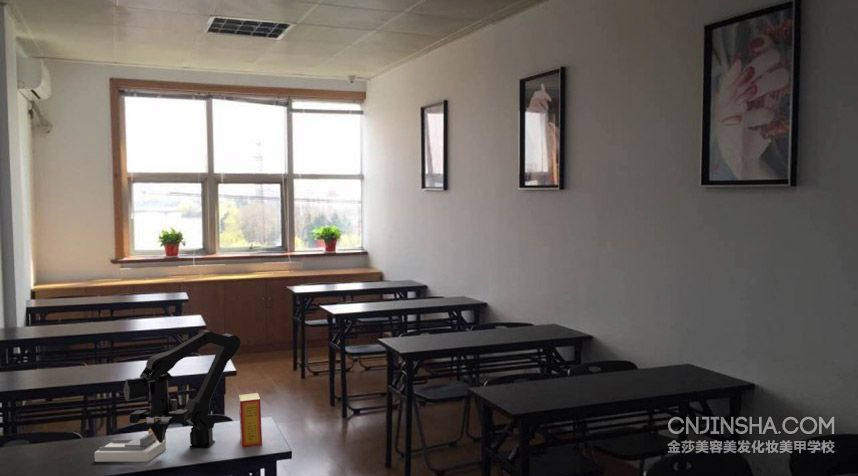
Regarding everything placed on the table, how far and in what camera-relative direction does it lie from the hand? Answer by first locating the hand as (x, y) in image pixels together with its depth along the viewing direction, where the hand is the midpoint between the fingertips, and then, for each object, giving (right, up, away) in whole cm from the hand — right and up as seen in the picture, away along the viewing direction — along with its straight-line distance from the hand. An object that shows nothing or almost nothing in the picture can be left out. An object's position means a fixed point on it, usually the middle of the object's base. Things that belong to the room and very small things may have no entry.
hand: (161, 442), depth 230 cm
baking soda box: (+27, -3, +11) cm, 29 cm away
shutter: (-7, -1, +1) cm, 8 cm away
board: (-10, -5, +1) cm, 11 cm away
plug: (-5, -4, +11) cm, 13 cm away
